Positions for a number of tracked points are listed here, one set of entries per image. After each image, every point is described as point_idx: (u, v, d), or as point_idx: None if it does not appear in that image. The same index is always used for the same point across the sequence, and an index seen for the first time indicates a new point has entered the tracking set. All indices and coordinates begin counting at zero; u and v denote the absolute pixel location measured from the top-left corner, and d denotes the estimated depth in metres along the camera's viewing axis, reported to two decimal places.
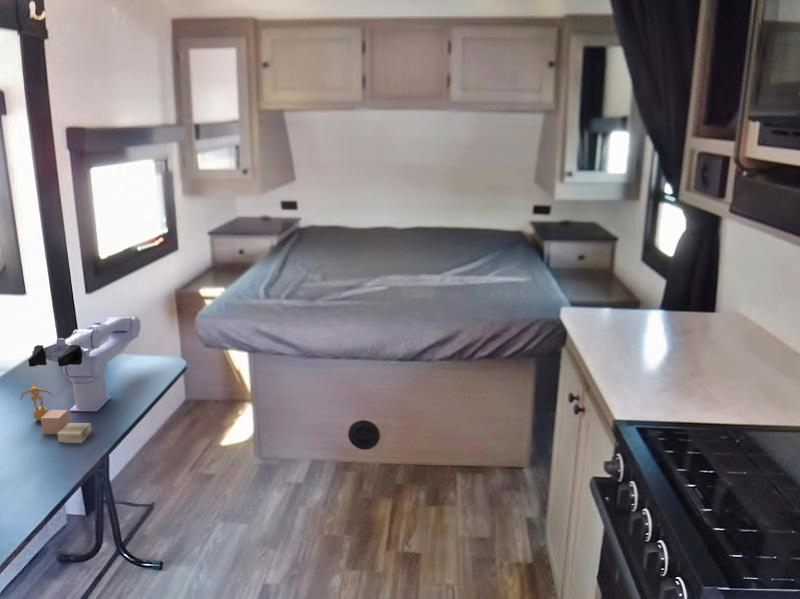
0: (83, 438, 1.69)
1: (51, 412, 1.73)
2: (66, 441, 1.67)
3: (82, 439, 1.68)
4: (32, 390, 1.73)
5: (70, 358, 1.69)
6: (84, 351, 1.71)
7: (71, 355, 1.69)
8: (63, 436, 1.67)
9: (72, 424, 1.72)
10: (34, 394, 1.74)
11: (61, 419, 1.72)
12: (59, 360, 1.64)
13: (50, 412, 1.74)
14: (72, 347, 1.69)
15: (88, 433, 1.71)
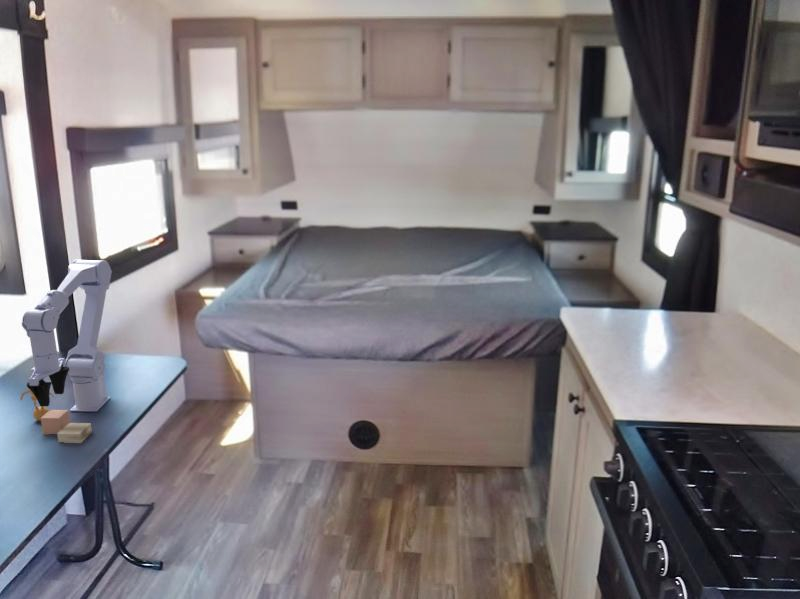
0: (83, 438, 1.68)
1: (51, 412, 1.73)
2: (66, 441, 1.67)
3: (82, 439, 1.68)
4: None
5: (42, 389, 1.66)
6: None
7: (39, 388, 1.66)
8: (62, 436, 1.67)
9: (72, 424, 1.72)
10: None
11: (61, 419, 1.72)
12: None
13: (50, 412, 1.74)
14: None
15: (88, 433, 1.71)
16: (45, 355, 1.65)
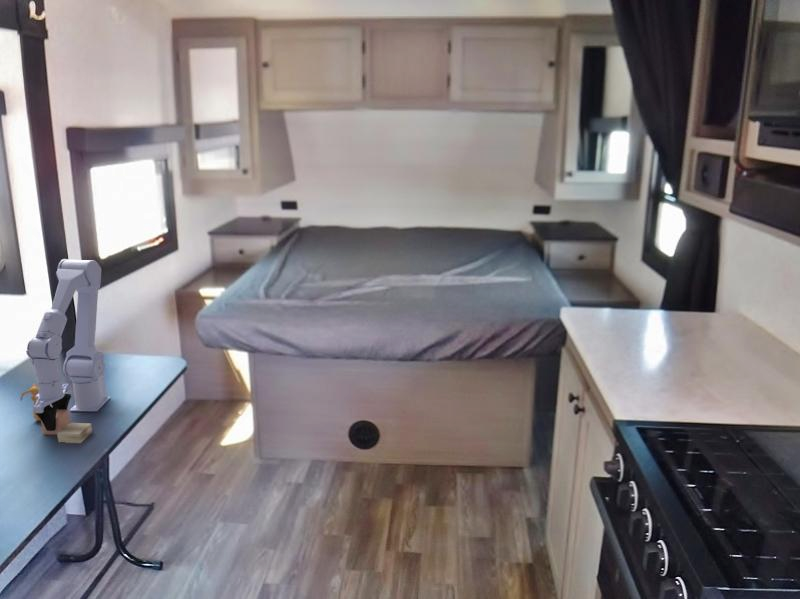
0: (82, 438, 1.68)
1: None
2: (65, 441, 1.67)
3: (81, 439, 1.68)
4: (32, 390, 1.73)
5: (48, 414, 1.69)
6: None
7: (46, 413, 1.69)
8: (62, 436, 1.67)
9: (73, 424, 1.72)
10: (34, 394, 1.74)
11: (61, 418, 1.72)
12: None
13: None
14: None
15: (88, 433, 1.71)
16: (49, 382, 1.67)
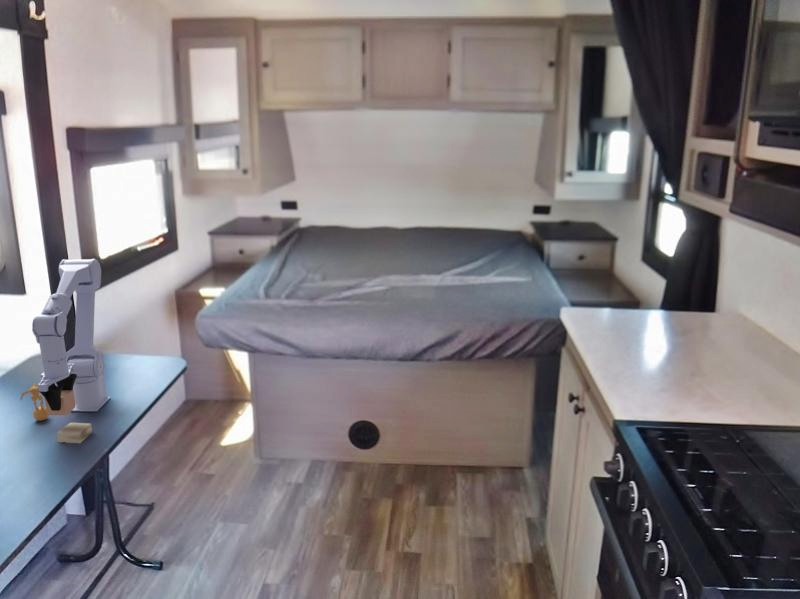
0: (82, 438, 1.68)
1: None
2: (65, 441, 1.67)
3: (81, 439, 1.68)
4: (32, 390, 1.73)
5: (53, 394, 1.65)
6: None
7: (50, 392, 1.65)
8: (62, 436, 1.67)
9: (73, 424, 1.72)
10: (34, 394, 1.74)
11: (66, 399, 1.68)
12: None
13: None
14: None
15: (88, 433, 1.71)
16: (54, 360, 1.63)
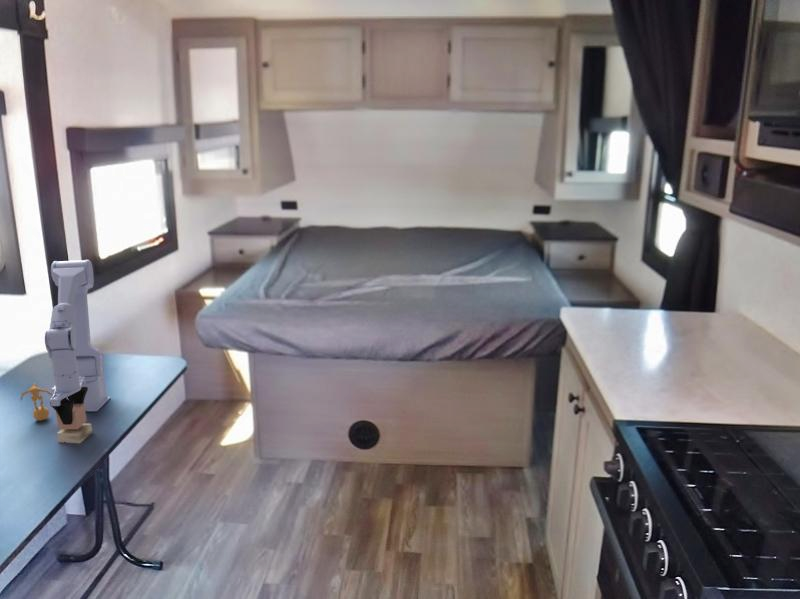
0: (82, 439, 1.68)
1: None
2: (65, 441, 1.67)
3: (81, 440, 1.68)
4: (32, 390, 1.73)
5: (65, 408, 1.64)
6: None
7: (62, 406, 1.64)
8: (62, 436, 1.67)
9: None
10: (34, 394, 1.74)
11: (77, 413, 1.67)
12: None
13: None
14: None
15: (88, 434, 1.71)
16: (66, 375, 1.63)
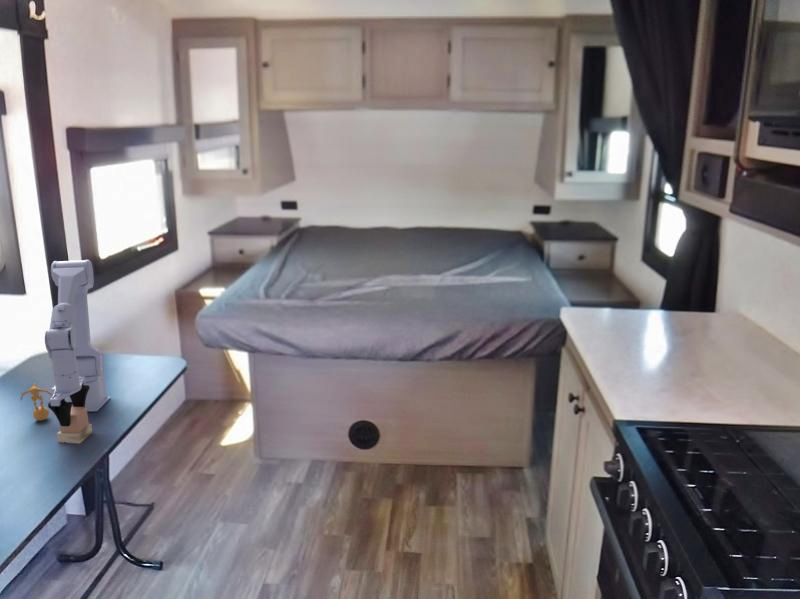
0: (82, 439, 1.68)
1: None
2: (65, 441, 1.67)
3: (81, 440, 1.68)
4: (32, 390, 1.73)
5: (63, 409, 1.63)
6: None
7: (60, 408, 1.63)
8: (62, 436, 1.67)
9: None
10: (34, 394, 1.74)
11: (79, 416, 1.67)
12: None
13: None
14: None
15: (88, 434, 1.71)
16: (66, 375, 1.63)
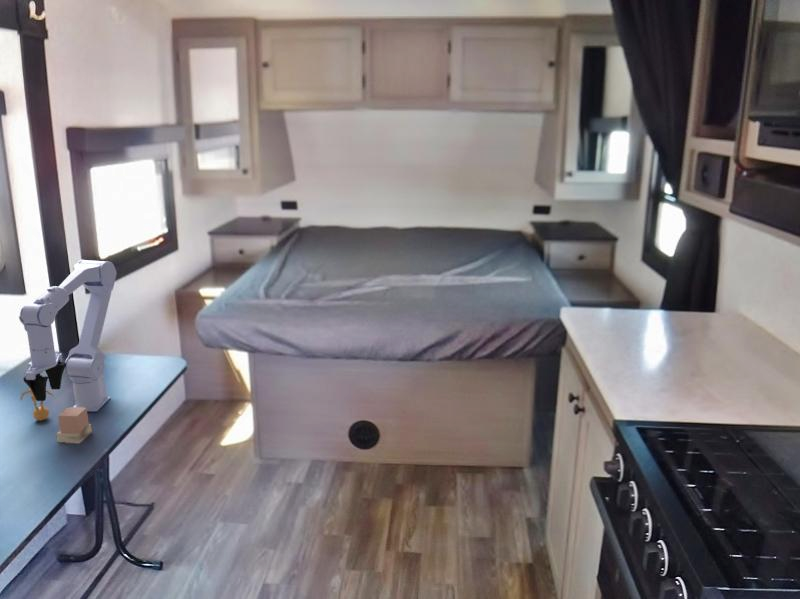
0: (81, 439, 1.68)
1: (69, 410, 1.69)
2: (65, 441, 1.67)
3: (80, 440, 1.68)
4: None
5: (39, 384, 1.66)
6: None
7: (36, 382, 1.66)
8: (61, 436, 1.67)
9: None
10: None
11: (79, 417, 1.67)
12: None
13: (67, 409, 1.69)
14: None
15: (87, 434, 1.71)
16: (42, 349, 1.66)
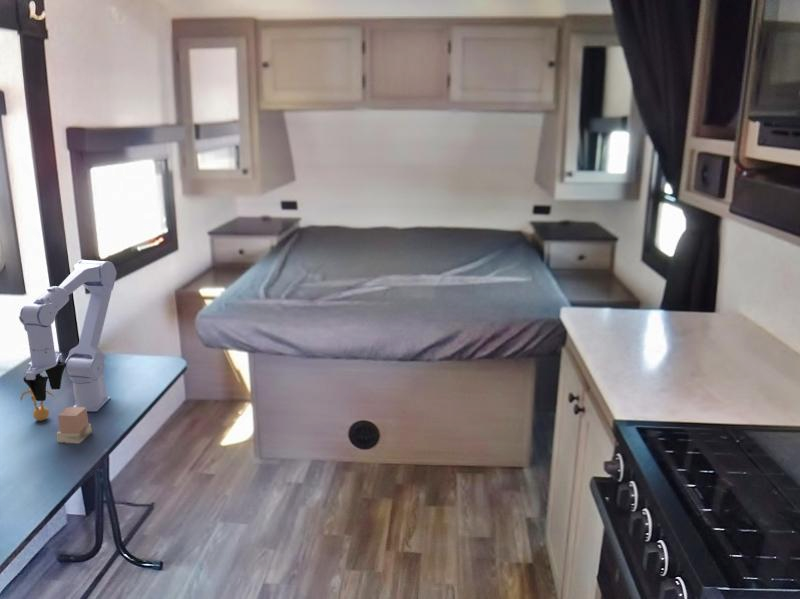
0: (81, 439, 1.68)
1: (69, 410, 1.69)
2: (64, 441, 1.67)
3: (80, 440, 1.68)
4: None
5: (39, 384, 1.66)
6: None
7: (36, 382, 1.66)
8: (61, 436, 1.67)
9: None
10: None
11: (79, 416, 1.67)
12: None
13: (67, 409, 1.69)
14: None
15: (87, 434, 1.71)
16: (42, 349, 1.66)
